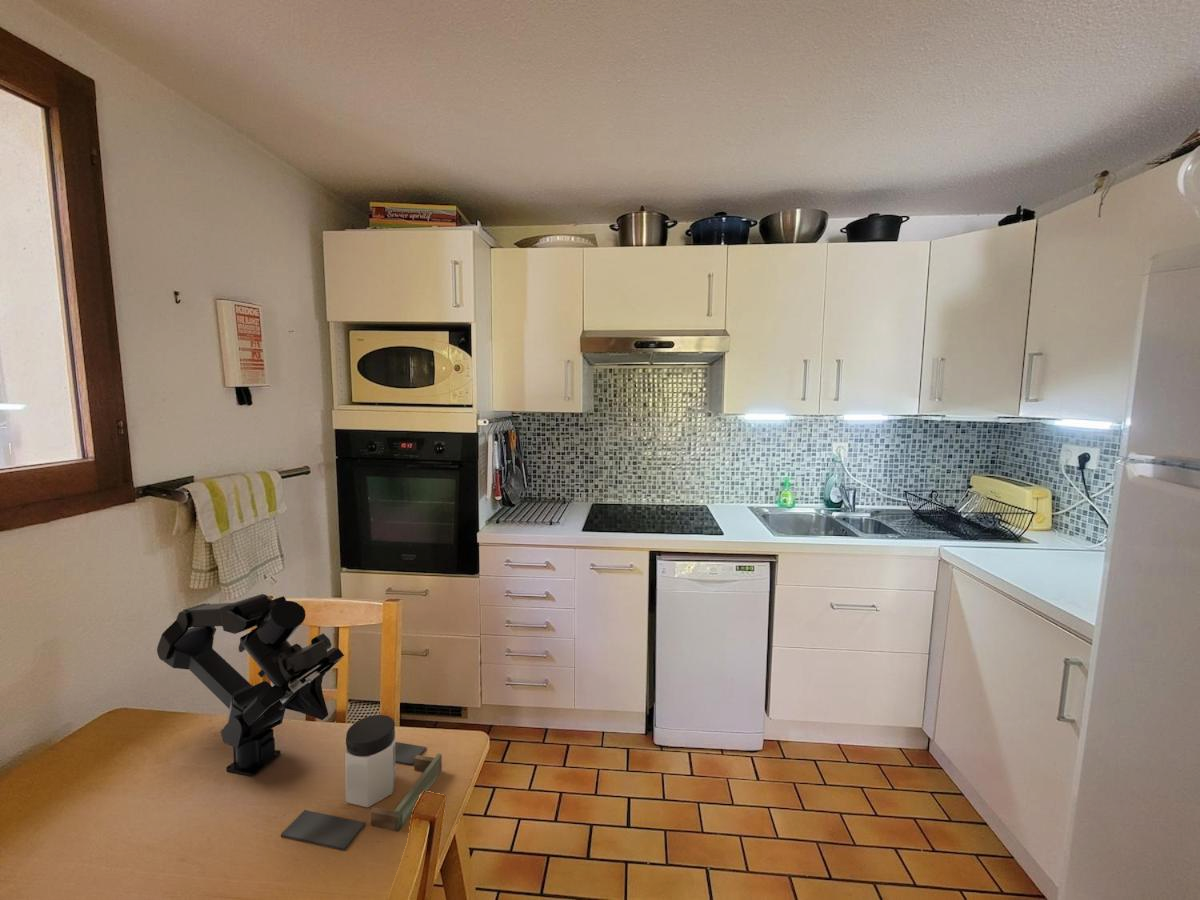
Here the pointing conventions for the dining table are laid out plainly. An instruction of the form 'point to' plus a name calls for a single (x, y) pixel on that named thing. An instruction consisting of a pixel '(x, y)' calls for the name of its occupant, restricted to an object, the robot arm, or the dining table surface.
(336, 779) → the dining table surface
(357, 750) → the jar
